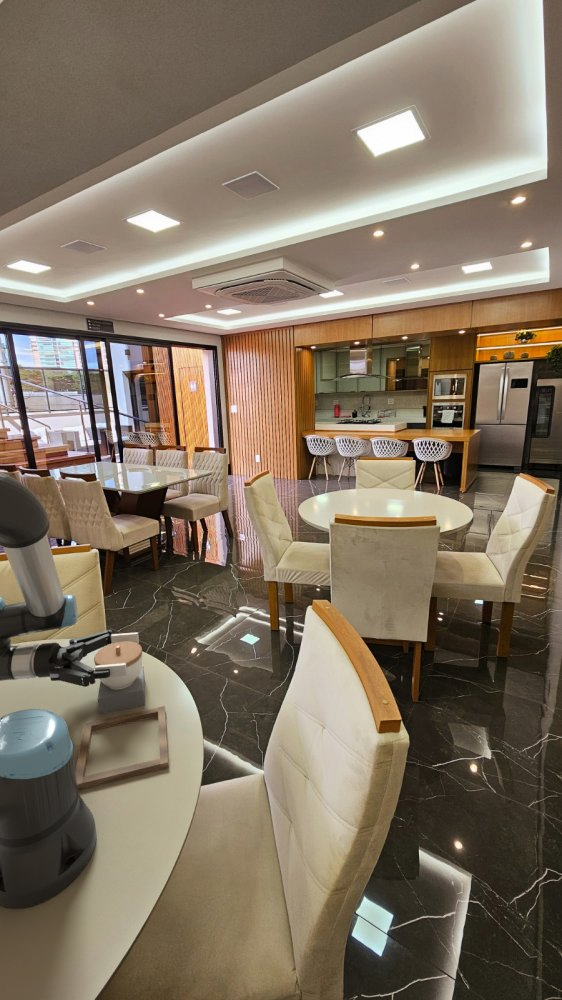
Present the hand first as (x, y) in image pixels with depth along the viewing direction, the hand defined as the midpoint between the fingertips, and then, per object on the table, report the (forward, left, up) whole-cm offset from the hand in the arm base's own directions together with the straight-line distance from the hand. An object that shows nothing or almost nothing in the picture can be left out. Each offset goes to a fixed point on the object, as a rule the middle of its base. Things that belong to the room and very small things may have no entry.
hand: (132, 652), depth 104 cm
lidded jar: (+1, +3, -8) cm, 8 cm away
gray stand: (+1, +3, -11) cm, 12 cm away
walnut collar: (-16, +2, -11) cm, 20 cm away
